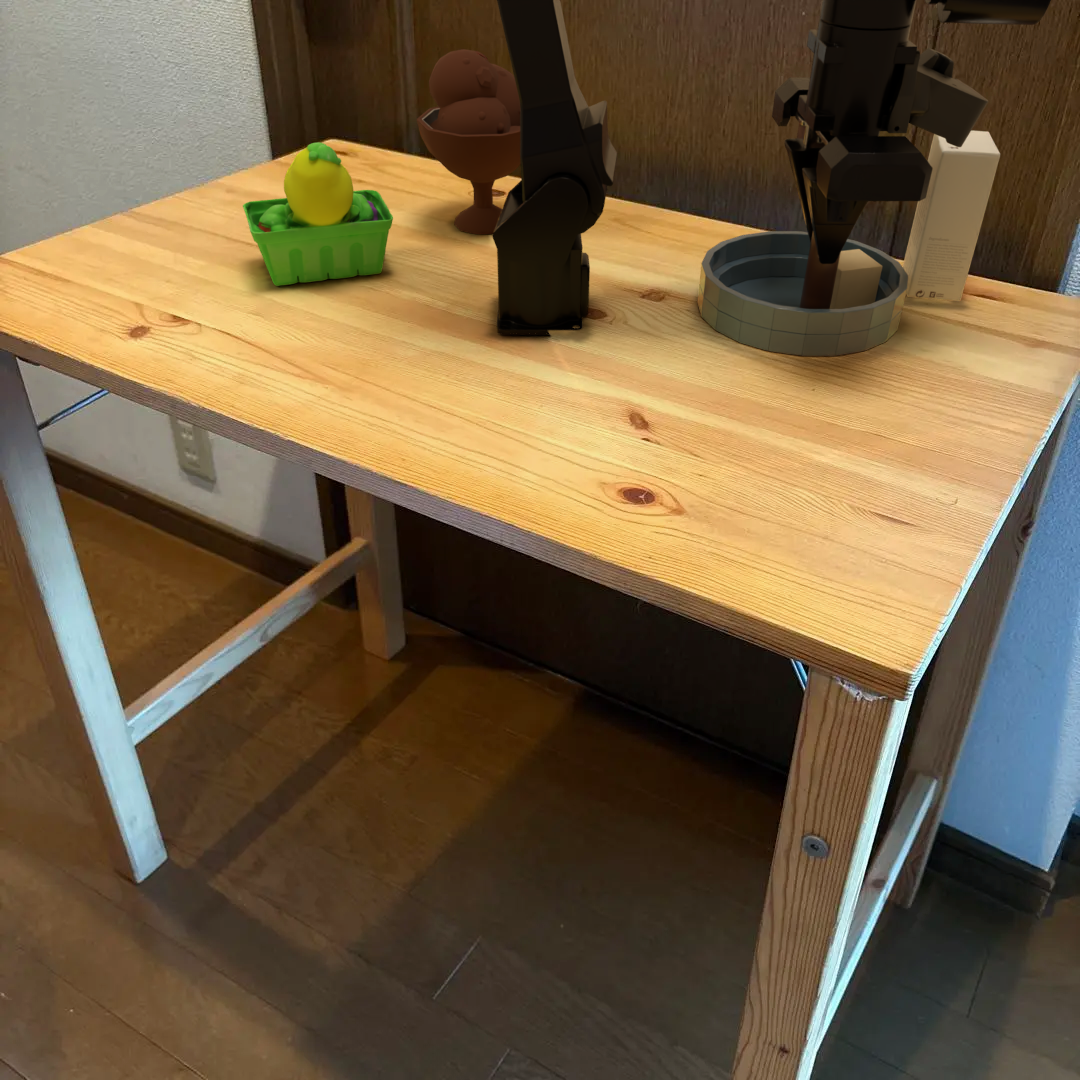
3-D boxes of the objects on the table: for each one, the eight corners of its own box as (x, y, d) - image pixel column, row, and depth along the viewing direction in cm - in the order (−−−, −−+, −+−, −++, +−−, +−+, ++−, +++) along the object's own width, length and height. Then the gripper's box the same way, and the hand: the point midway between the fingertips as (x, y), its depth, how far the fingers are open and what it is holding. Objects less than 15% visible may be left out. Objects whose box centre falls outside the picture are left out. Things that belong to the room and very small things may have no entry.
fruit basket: (381, 244, 92) (369, 112, 85) (403, 283, 86) (391, 143, 79) (251, 260, 89) (227, 124, 83) (263, 302, 83) (238, 158, 76)
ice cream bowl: (502, 254, 90) (498, 71, 81) (401, 229, 95) (386, 53, 86) (564, 217, 98) (567, 44, 88) (467, 195, 102) (460, 29, 93)
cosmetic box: (960, 308, 82) (1002, 154, 75) (905, 303, 83) (940, 150, 75) (952, 277, 87) (990, 130, 80) (899, 273, 88) (933, 126, 80)
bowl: (712, 363, 75) (718, 312, 72) (686, 277, 87) (691, 231, 84) (922, 363, 75) (935, 312, 72) (867, 277, 87) (877, 230, 84)
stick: (802, 319, 77) (828, 170, 70) (795, 307, 79) (821, 160, 72) (831, 319, 77) (860, 171, 70) (824, 307, 79) (852, 160, 72)
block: (833, 314, 80) (841, 270, 78) (811, 295, 83) (819, 253, 80) (873, 308, 81) (882, 265, 78) (851, 290, 83) (859, 248, 81)
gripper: (1050, 56, 58) (977, 312, 68) (943, -8, 73) (896, 210, 83) (853, 56, 58) (808, 312, 68) (786, -8, 73) (757, 210, 83)
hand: (822, 256), depth 75 cm, fingers closed on stick, 2 cm apart
